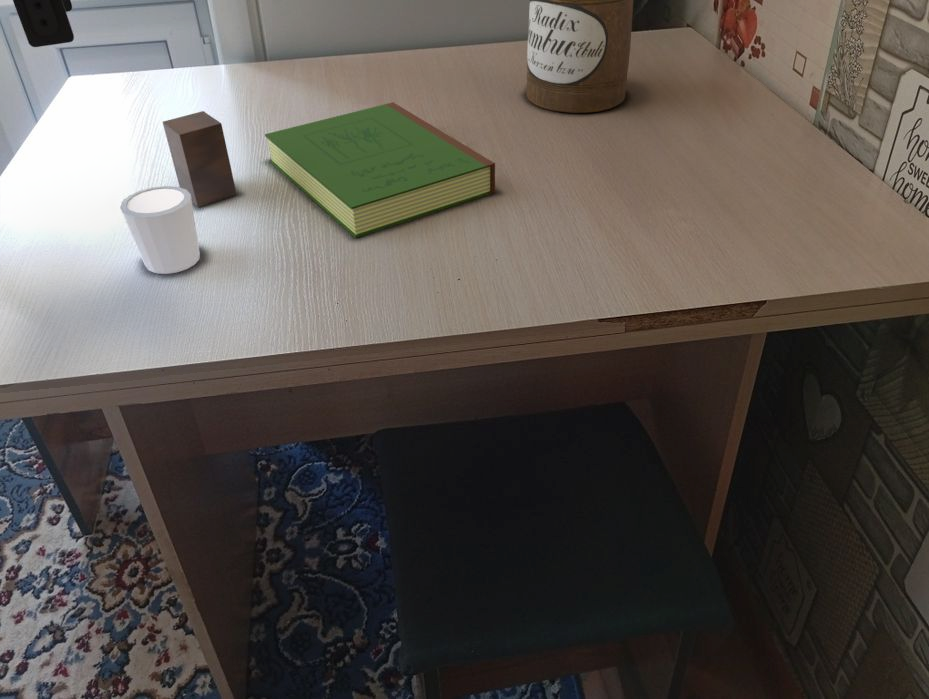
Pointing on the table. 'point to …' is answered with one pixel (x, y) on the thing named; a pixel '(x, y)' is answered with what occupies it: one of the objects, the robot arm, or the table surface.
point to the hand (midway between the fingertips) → (53, 27)
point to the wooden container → (578, 54)
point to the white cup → (163, 228)
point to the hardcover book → (379, 167)
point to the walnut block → (200, 157)
